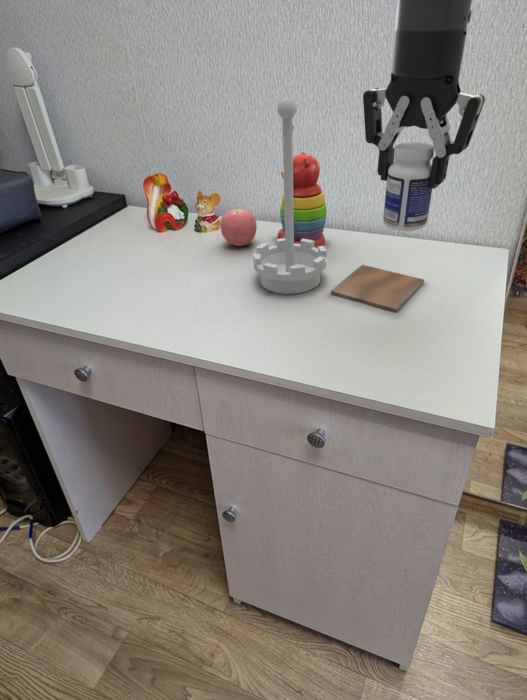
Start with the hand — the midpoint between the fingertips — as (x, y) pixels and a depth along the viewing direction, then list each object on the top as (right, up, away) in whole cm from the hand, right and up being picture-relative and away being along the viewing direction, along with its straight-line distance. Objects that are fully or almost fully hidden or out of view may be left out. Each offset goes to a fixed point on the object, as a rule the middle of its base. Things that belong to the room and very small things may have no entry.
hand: (409, 182), depth 63 cm
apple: (-24, +1, +42) cm, 48 cm away
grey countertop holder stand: (-14, -8, +28) cm, 32 cm away
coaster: (+1, -10, +23) cm, 26 cm away
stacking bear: (-11, +1, +41) cm, 42 cm away
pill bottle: (0, -5, +3) cm, 6 cm away
